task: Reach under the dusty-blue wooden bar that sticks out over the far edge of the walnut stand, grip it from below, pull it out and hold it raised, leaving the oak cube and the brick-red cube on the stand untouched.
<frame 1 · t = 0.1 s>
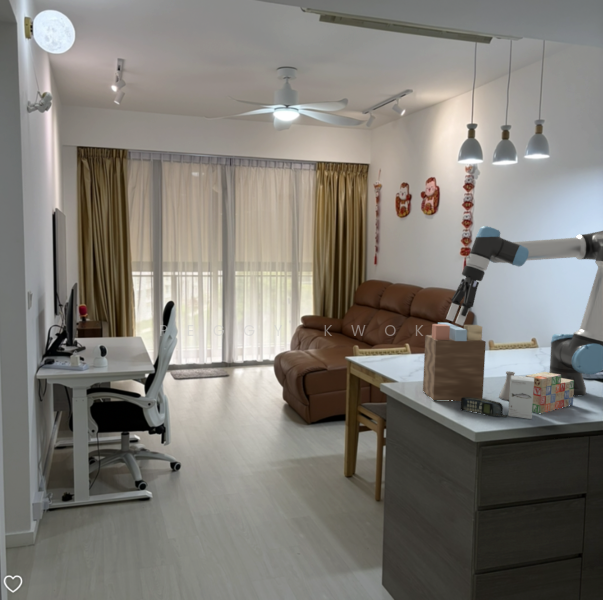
hand: (454, 322, 208), 28 cm above the worktop, tool tilted 20°, fingers open, 13 cm apart
flask: (508, 399, 210), on the worktop
mobile phone: (483, 414, 188), on the worktop
supplement box: (520, 416, 187), on the worktop
walnut stand: (451, 396, 210), on the worktop
blue bar: (451, 336, 212), point 22 cm above the worktop, touching walnut stand
stack of blocks: (548, 408, 198), on the worktop
oak cube: (472, 339, 206), point 22 cm above the worktop, touching walnut stand
brick cube: (440, 338, 206), point 22 cm above the worktop, touching walnut stand
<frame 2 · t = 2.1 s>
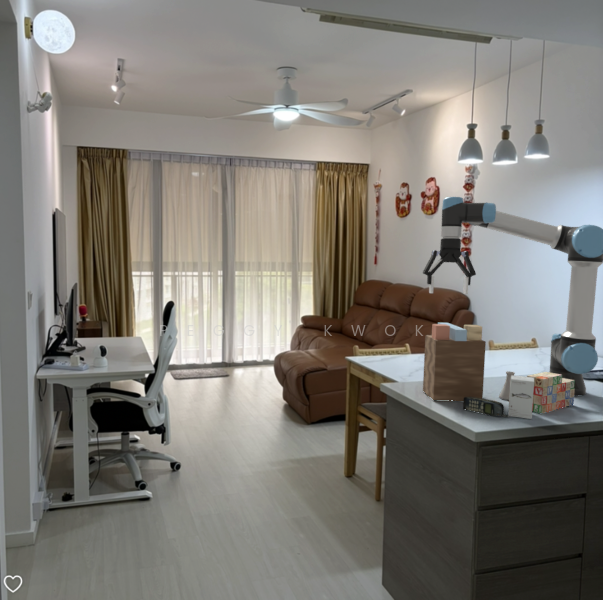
hand: (448, 293, 217), 38 cm above the worktop, tool pointing down, fingers open, 13 cm apart
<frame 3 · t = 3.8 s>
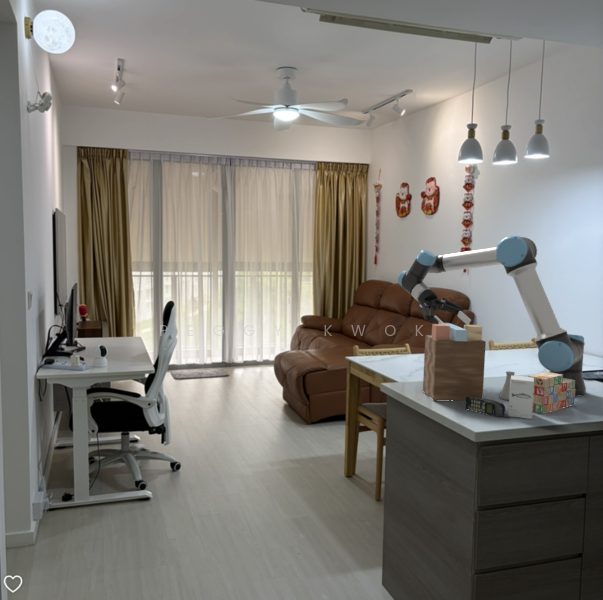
hand: (457, 325, 226), 25 cm above the worktop, tool tilted 60°, fingers open, 13 cm apart
blue bar: (452, 336, 211), point 22 cm above the worktop
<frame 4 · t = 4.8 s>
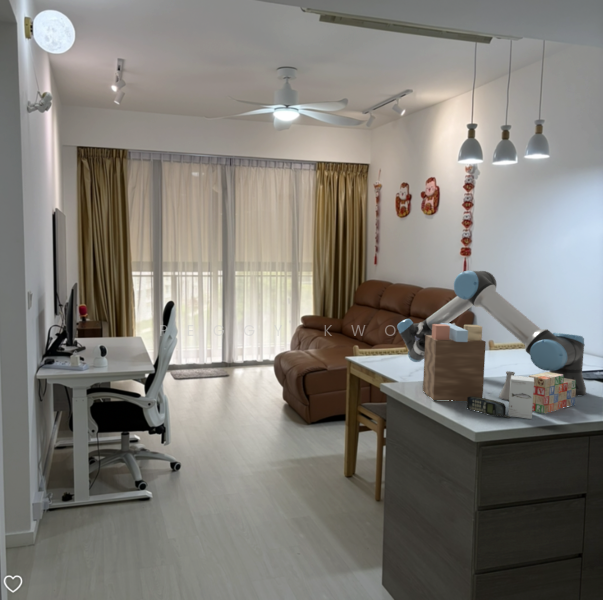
hand: (438, 325, 229), 24 cm above the worktop, tool pointing upward, fingers open, 13 cm apart
blue bar: (452, 337, 210), point 22 cm above the worktop, touching walnut stand
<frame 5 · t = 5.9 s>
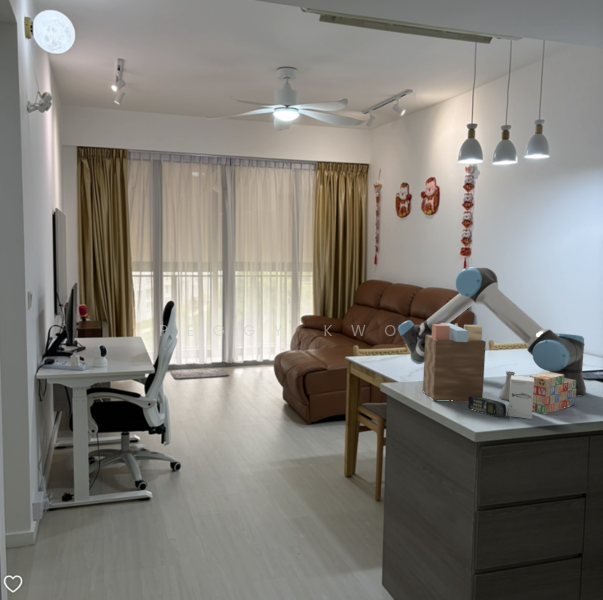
hand: (440, 326, 224), 24 cm above the worktop, tool pointing upward, fingers open, 13 cm apart
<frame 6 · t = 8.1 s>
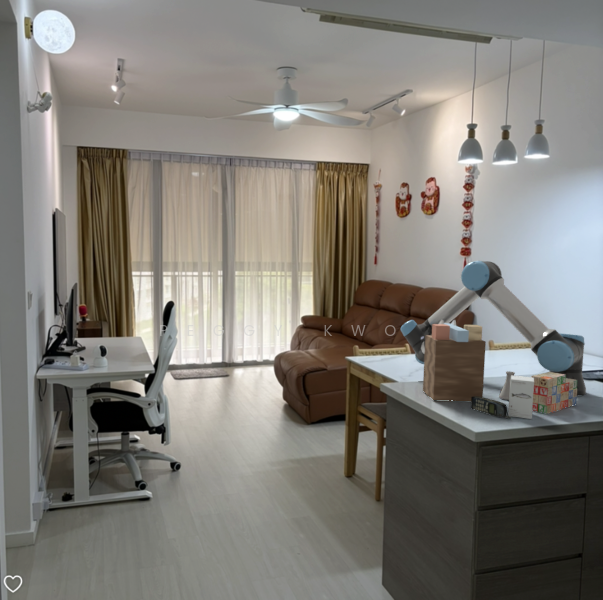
hand: (448, 323, 215), 27 cm above the worktop, tool pointing upward, fingers closed on blue bar, 4 cm apart
blue bar: (452, 337, 210), point 22 cm above the worktop, touching gripper, walnut stand
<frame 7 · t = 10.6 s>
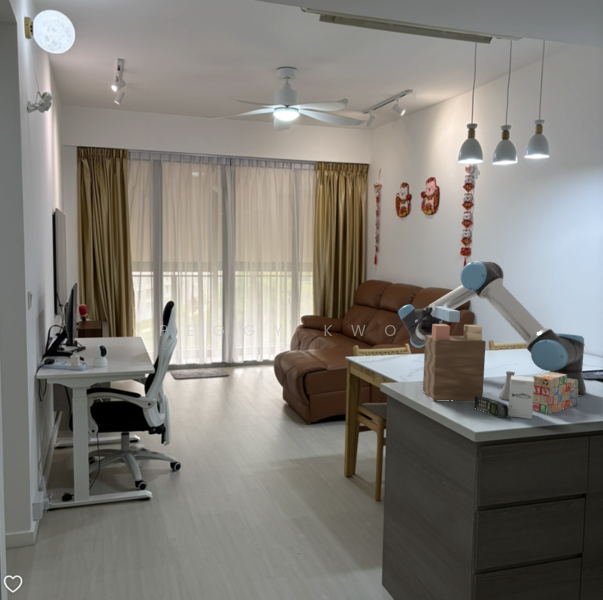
hand: (441, 305, 225), 32 cm above the worktop, tool pointing upward, fingers closed on blue bar, 4 cm apart
blue bar: (445, 318, 220), point 28 cm above the worktop, touching gripper
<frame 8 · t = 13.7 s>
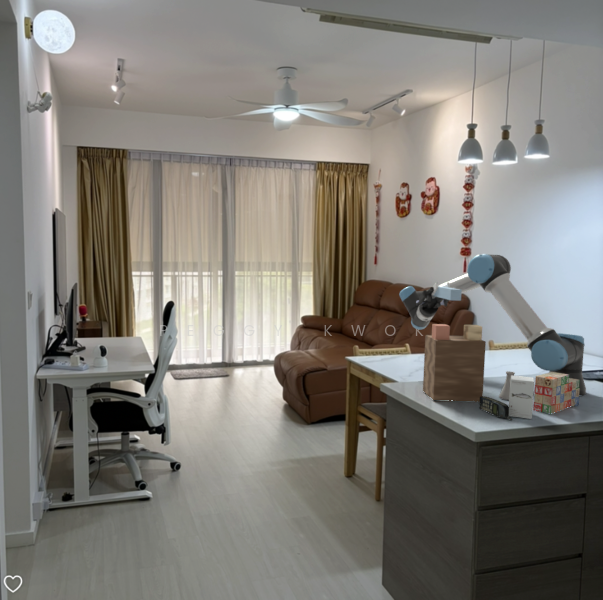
hand: (442, 285, 224), 41 cm above the worktop, tool pointing upward, fingers closed on blue bar, 4 cm apart
blue bar: (446, 298, 219), point 36 cm above the worktop, touching gripper
at the end: blue bar point 35.9 cm above the worktop; oak cube moved 0.1 cm from its start; brick cube moved 0.1 cm from its start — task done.
